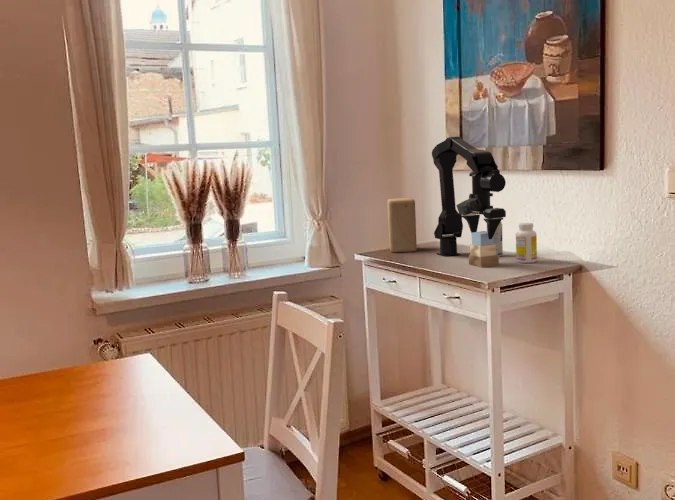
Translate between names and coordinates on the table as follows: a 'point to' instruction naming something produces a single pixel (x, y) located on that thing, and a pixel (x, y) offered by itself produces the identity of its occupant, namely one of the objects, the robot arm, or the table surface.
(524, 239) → the supplement bottle
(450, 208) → the robot arm
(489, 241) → the top block
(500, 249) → the energy drink
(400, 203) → the wooden block
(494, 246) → the mid block
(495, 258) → the base block
